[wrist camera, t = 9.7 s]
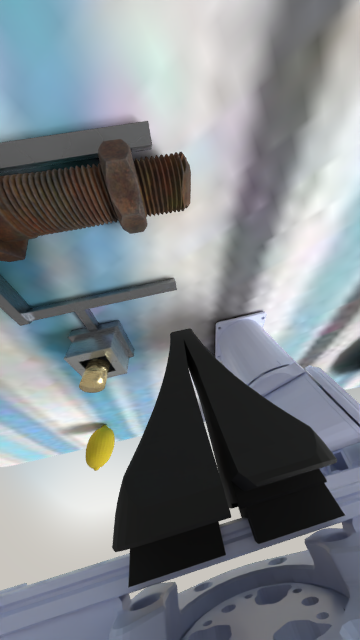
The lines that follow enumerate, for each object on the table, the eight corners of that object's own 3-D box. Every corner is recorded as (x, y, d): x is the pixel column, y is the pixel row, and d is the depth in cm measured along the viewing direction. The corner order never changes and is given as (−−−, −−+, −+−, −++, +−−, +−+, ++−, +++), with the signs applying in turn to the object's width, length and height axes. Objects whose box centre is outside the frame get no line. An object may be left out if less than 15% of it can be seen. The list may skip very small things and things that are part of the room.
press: (184, 338, 23) (190, 359, 20) (75, 364, 22) (62, 391, 19) (147, 127, 10) (148, 89, 7) (-119, 167, 9) (-265, 145, 6)
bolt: (178, 199, 14) (13, 225, 13) (176, 112, 10) (-80, 140, 8) (195, 240, 12) (0, 277, 11) (203, 154, 8) (-135, 201, 6)
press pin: (113, 368, 18) (108, 389, 16) (93, 373, 18) (86, 394, 16) (104, 356, 17) (98, 377, 15) (83, 361, 17) (74, 383, 15)
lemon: (99, 418, 34) (88, 466, 27) (121, 421, 37) (116, 465, 30) (87, 428, 36) (75, 475, 29) (109, 430, 38) (102, 473, 32)
